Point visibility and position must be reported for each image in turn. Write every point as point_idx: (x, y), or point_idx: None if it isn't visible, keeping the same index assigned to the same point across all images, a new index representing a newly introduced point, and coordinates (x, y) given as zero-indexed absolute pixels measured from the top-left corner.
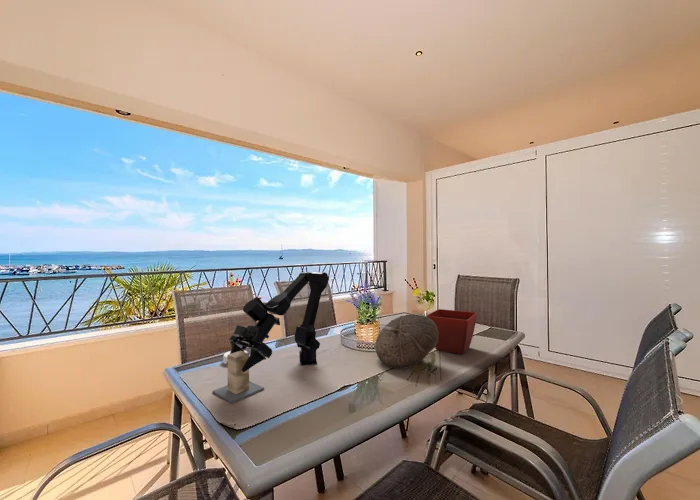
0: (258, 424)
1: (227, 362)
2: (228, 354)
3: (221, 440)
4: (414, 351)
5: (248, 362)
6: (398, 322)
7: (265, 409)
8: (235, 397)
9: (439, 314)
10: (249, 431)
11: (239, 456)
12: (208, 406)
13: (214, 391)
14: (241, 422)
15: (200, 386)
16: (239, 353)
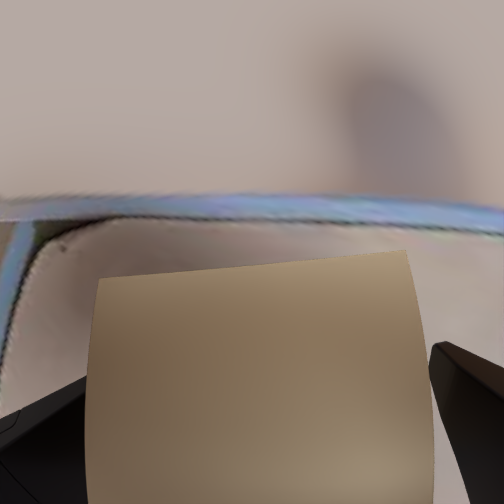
0: (15, 295)
1: (449, 348)
2: (395, 264)
3: (53, 198)
4: None
5: (34, 411)
6: None
7: (40, 369)
8: None
9: None
10: (19, 260)
11: (4, 210)
12: (250, 229)
13: None
14: (54, 267)
15: (496, 275)
16: (261, 483)
